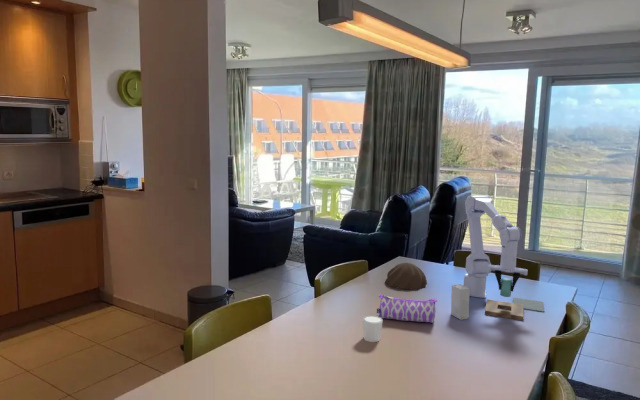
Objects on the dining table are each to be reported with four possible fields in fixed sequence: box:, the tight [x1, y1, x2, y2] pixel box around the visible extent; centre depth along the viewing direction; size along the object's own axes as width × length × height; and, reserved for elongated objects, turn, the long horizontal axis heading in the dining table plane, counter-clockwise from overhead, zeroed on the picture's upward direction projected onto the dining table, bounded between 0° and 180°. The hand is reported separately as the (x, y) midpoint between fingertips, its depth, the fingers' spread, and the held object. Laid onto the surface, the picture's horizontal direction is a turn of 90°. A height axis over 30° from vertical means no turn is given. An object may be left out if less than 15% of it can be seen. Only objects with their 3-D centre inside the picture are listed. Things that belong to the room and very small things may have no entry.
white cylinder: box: [362, 315, 384, 343], centre depth 161 cm, size 7×7×7 cm
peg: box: [499, 277, 513, 298], centre depth 189 cm, size 4×4×6 cm
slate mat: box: [512, 297, 546, 313], centre depth 197 cm, size 12×12×1 cm
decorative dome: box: [384, 262, 428, 291], centre depth 222 cm, size 19×20×10 cm
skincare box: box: [450, 283, 470, 321], centre depth 182 cm, size 6×4×12 cm
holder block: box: [484, 299, 524, 321], centre depth 190 cm, size 14×14×2 cm
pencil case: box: [376, 293, 439, 324], centre depth 179 cm, size 22×9×10 cm, turn 78°
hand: (505, 289), depth 189 cm, fingers closed on peg, 4 cm apart
